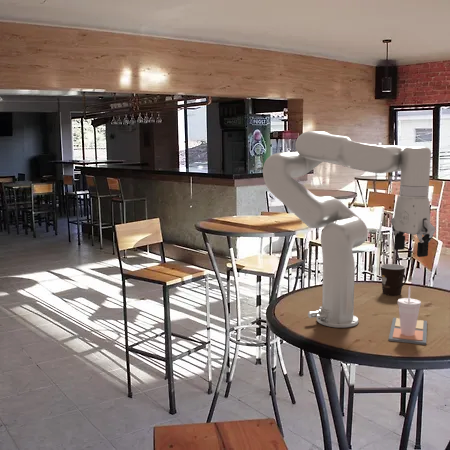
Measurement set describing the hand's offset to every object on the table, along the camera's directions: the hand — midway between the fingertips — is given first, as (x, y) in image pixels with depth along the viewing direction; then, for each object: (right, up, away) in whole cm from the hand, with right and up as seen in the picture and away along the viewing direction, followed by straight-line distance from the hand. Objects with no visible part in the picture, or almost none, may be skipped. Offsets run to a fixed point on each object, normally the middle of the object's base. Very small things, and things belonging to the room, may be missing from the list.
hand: (410, 252), depth 161 cm
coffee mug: (+9, -18, +47) cm, 51 cm away
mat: (+2, -23, +8) cm, 25 cm away
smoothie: (0, -24, +4) cm, 24 cm away
